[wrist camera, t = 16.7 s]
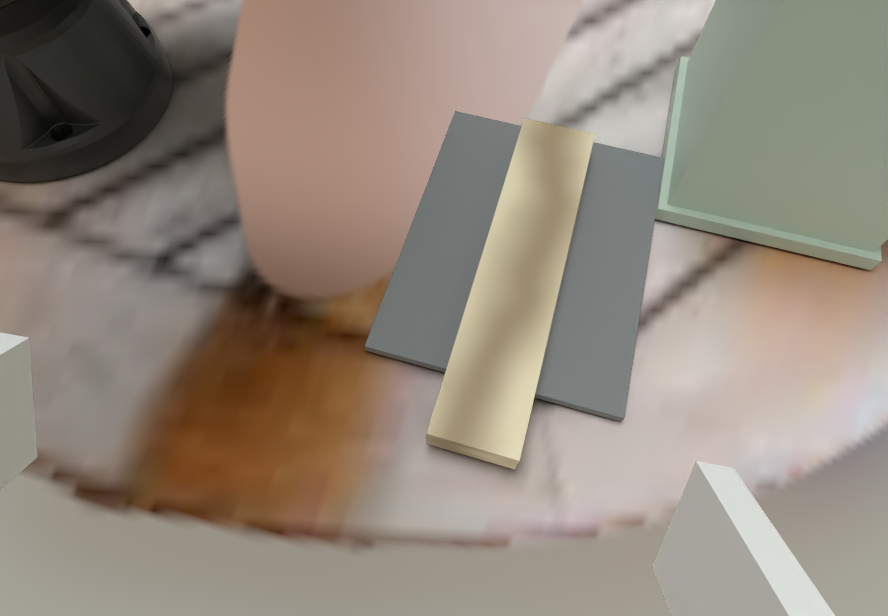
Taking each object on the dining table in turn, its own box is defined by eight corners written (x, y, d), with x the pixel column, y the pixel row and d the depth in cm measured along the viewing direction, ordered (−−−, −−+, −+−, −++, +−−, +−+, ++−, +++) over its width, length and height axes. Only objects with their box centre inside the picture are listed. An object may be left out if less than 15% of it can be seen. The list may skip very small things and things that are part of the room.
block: (426, 443, 30) (426, 433, 28) (520, 138, 39) (524, 118, 37) (514, 469, 29) (519, 460, 28) (588, 154, 39) (595, 134, 37)
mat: (365, 350, 33) (364, 346, 32) (455, 117, 41) (455, 111, 40) (620, 421, 31) (624, 418, 30) (660, 164, 39) (664, 158, 39)
